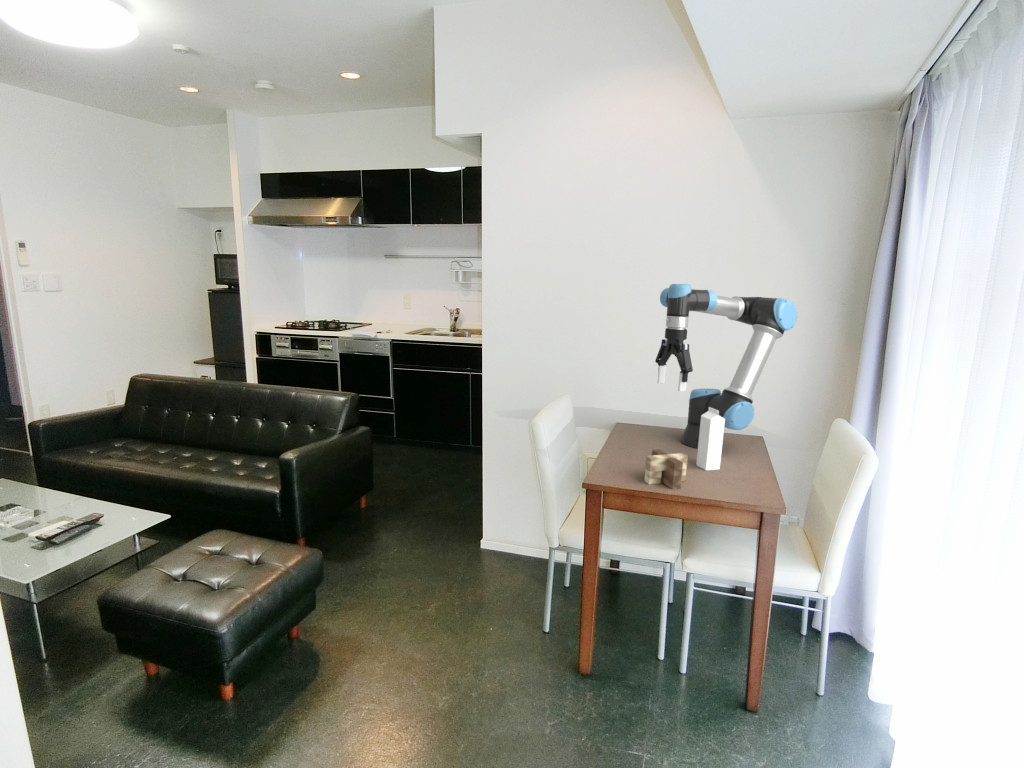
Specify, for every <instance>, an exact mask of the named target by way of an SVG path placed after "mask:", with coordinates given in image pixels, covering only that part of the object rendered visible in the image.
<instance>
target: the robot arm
mask: <svg viewBox="0 0 1024 768" xmlns="http://www.w3.org/2000/svg"><path fill="white" fill-rule="evenodd" d="M659 295H660V296H659V302H660V304H661V306H663V307H664V308H666V319H665V327H666V328H665V331H664V339H661V343H660V347H659V350H658V352H657V355H656V358H655V361H654V362H655V363H656V364H657V366H658V368H657V369H658V372H657V384H666V375H667V362H668V361H669V359H670V358H671V356H672V355H674V356H675V357H676V360H677V362H678V365H679V368H680V371H679V377H678V388H677V389H678V390H677V391H678V392H687V384H688V379H689V373H692V372H693V371H694V369H693V365H692V363H693V362H692V358H691V354H690V344H689V343H684V341H686V340H687V336H688V329H687V328H688V326H689V317H690V316H689V315H690V312H696V313H702V314H709V315H714V316H722V317H725V318H727V319H728V320H730V321H735V322H739V323H743V324H747V325H750V326H751V328H752V329H753V334H752V335H751V337H750V340H749V342H748V344H747V346H746V349H745V351H744V353H743V355H742V358H741V360H740V361H739V365H738V367H737V369H736V371H735V373H734V375H733V378H732V380H731V382H730V384H729V386H728V387H725V388H723V391H721V389H719V388H696V389H695V388H694V389H692V390H691V392H690V394H689V399H688V414H687V416H688V417H687V423H686V427H685V429H684V431H683V434H682V435H681V443H682V444H684V445H685V446H687V447H691V448H696V449H698V442H699V432H700V422H701V415H703V414H704V413H706V412H707V411H708V410H709V407H711V408H713V409H716V410H718V411H719V415H720V416H721V417H723V418H724V419H725V425H724V428H726V429H728V430H733V431H740V430H743V429H745V428H747V427H748V426H749V425H750V424H751V423H752V421H753V419H754V416H755V412H754V411H755V408H754V406H753V402H754V399H753V397H752V394H753V393H754V390H755V387H756V385H757V384H758V381H759V379H760V377H761V374H762V372H763V369H764V368H765V366H766V364H767V361H768V359H769V356H770V355H771V352H772V350H773V347H774V345H775V343H776V341H777V340H778V339H781V338H782V337H783V336H784V333H785V332H786V331H790V330H791V329H793V328H794V327H795V326H796V324H797V319H798V311H797V307H796V304H795V303H794V302H793V301H791V300H790V299H785V298H782V297H781V298H779V297H778V298H777V297H762V296H739V295H738V296H736V295H734V296H732V297H727V296H723V295H717V293H716V292H715V290H712V289H710V290H709V289H694V288H693V289H692V285H691V284H688V283H672V284H670V285H669V287H666V288H664V289H663V290H662V291H661V293H660V294H659Z"/></svg>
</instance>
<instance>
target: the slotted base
mask: <svg viewBox="0 0 1024 768" xmlns="http://www.w3.org/2000/svg"><path fill="white" fill-rule="evenodd" d="M664 454H668V453H667V452H666V451H665V450H662V449H658V448H657V449H652V450H651V455H664ZM682 468H683V462H682V461H680V460H678V459H676V458H668V459H667V468H666V470H664V471H662V476H661V484H664V485H665V486H667V487H668V488H669V489H671V490H677V489H680V490H681V487H682V481H681V478H682Z"/></svg>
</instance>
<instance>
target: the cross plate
mask: <svg viewBox="0 0 1024 768" xmlns="http://www.w3.org/2000/svg"><path fill="white" fill-rule="evenodd" d="M688 456H689V455H687V454H685V453H683V452H680V453H667V454H664V455H652V454H651V455H646V456H645V457H646V458H645V470H644V480H643V481H644V482H645V483H646V484H648V485H658V484H662V482H661V476H662V471H664V470H666V468H667V459H668V458H676V459H678V460H680V461H682V462H683V468H682V478H681V482H686V479H687V478H686V477H687V467H688Z"/></svg>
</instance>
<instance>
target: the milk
mask: <svg viewBox="0 0 1024 768" xmlns="http://www.w3.org/2000/svg"><path fill="white" fill-rule="evenodd" d="M724 425H725V419H724V418H723V417H721V416H720V415H719V411H718V410H716V409H713V408H711V407H709V410H708V411H707V412H706V413H704V414H703V415H701V422H700V432H699V442H698V448H697V454H696V466H697V467H699V468H700V469H702V470H704V471H715V470H721V463H722V462H721V461H722V454H723V452H722V451H723V442H724V432H725V427H724Z"/></svg>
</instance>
